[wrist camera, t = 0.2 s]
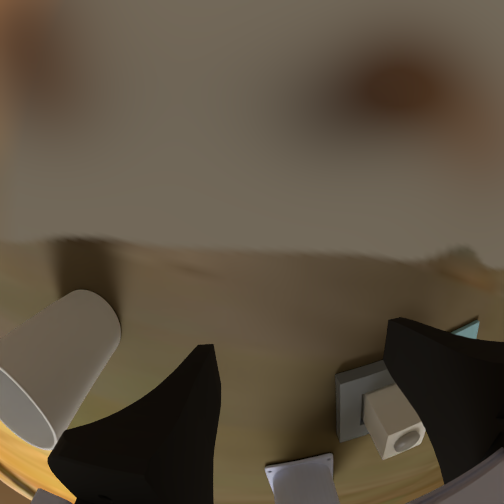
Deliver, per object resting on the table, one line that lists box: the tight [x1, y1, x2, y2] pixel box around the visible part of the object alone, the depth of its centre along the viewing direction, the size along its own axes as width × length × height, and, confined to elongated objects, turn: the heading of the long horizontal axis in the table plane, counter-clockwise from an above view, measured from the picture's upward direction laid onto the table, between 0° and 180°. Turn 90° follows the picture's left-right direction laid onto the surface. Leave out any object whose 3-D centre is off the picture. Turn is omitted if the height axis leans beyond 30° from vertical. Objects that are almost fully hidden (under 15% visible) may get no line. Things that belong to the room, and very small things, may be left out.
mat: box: [451, 320, 479, 339], centre depth 23 cm, size 7×7×1 cm
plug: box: [361, 383, 426, 460], centre depth 20 cm, size 4×4×7 cm
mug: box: [0, 290, 121, 450], centre depth 15 cm, size 10×7×12 cm, turn 165°
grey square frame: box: [335, 360, 395, 443], centre depth 23 cm, size 9×9×2 cm
